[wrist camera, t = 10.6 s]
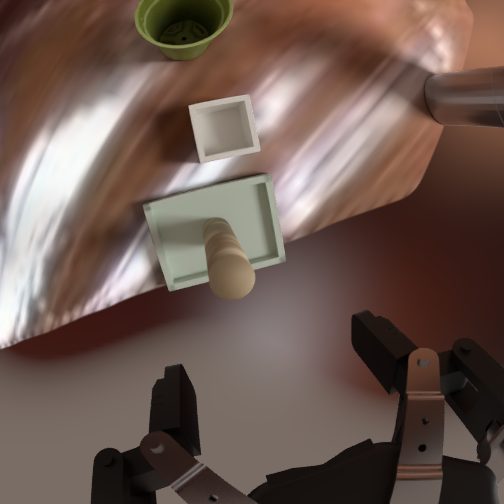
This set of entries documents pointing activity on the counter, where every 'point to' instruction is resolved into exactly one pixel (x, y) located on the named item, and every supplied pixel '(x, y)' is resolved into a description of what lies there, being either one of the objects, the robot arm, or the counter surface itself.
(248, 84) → the counter surface
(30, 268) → the counter surface
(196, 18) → the plant pot
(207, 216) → the tray
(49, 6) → the counter surface
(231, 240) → the dowel
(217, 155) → the white open box
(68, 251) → the counter surface
